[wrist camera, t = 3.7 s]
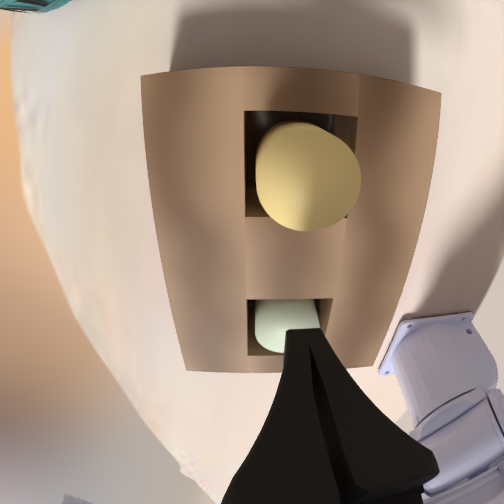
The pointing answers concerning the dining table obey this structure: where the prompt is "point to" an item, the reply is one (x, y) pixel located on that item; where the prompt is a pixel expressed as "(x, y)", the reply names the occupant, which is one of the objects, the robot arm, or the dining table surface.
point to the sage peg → (282, 320)
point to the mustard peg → (305, 176)
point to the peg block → (267, 229)
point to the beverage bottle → (32, 5)
